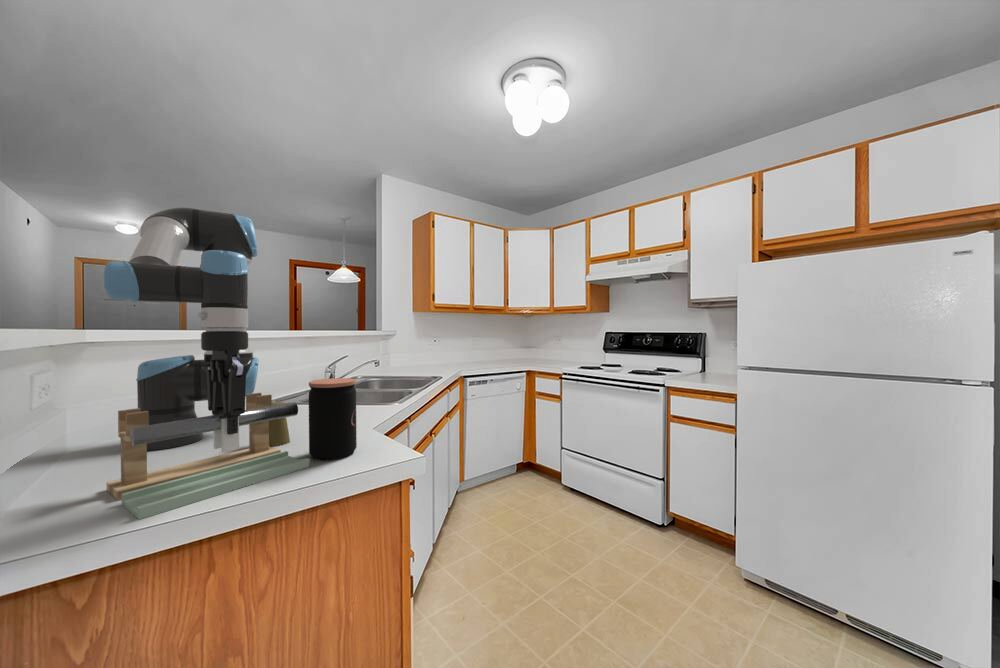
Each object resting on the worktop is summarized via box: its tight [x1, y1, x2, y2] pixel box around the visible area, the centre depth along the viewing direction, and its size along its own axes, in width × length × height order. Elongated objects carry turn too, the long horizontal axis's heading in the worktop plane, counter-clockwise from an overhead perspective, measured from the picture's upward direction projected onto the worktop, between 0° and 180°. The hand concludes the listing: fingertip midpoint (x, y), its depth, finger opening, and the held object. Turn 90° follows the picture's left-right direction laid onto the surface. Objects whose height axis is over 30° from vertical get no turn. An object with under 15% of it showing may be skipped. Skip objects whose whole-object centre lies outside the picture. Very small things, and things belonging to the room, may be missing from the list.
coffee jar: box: [308, 377, 358, 461], centre depth 92 cm, size 11×11×18 cm
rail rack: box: [106, 392, 282, 501], centre depth 81 cm, size 8×28×15 cm, turn 146°
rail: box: [130, 402, 299, 446], centre depth 74 cm, size 27×3×3 cm, turn 146°
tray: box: [121, 450, 310, 521], centre depth 75 cm, size 10×28×2 cm, turn 146°
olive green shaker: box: [269, 401, 291, 447], centre depth 101 cm, size 6×6×11 cm
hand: (226, 448), depth 74 cm, fingers closed on rail, 3 cm apart
